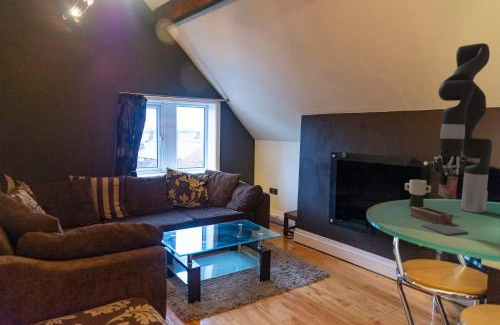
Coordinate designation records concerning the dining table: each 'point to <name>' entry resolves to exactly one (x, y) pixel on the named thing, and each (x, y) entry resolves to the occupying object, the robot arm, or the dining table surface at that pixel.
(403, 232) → the dining table surface
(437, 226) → the mat
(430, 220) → the holder
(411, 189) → the character mug
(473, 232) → the dining table surface
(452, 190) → the lighter
